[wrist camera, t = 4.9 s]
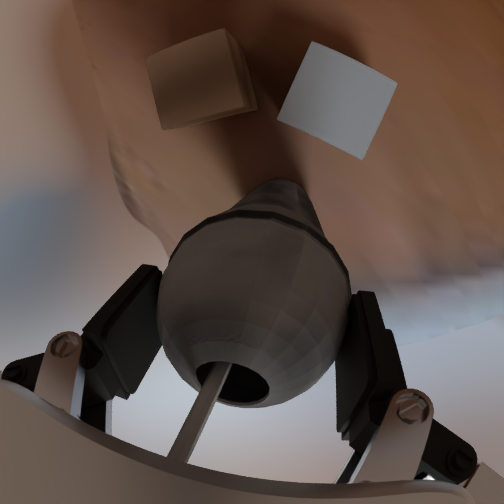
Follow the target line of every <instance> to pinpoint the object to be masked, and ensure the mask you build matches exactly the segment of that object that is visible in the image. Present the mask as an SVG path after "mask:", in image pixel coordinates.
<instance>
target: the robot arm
mask: <svg viewBox="0 0 504 504" xmlns="http://www.w3.org/2000/svg"><path fill="white" fill-rule="evenodd" d="M162 276H163V274H162V271H160V270H159V269H158V267H157V266H153V265H146V264H142V265H141V266H140V267H139V268H138V269H137V270H136V271H135V272H134V273H133V274H132V275H131V276H130V277H129V279H127V281H126V282H125V283H124V284H123V285H122V286H121V287H120V288H119V289H118V290H117V291H116V292H115V293H114V294H113V295H112V296H111V298H110V299H109V300H108V301H107V302H106V303H105V304H104V305H103V306H102V307H101V309H100V310H99V311H98V312H97V313H96V314H95V315H94V316H93V317H92V319H91V320H90V321H89V322H88V323H87V324H86V326H85V327H84V328H83V329H82V330H83V334H82V335H81V336H79V334H77V333H75V332H71V331H67V332H62V333H60V334H57V335H56V336H54V337H53V338H52V339H51V340H50V341H49V343H48V345H47V348H46V351H45V353H41V354H38V355H34V356H31V357H27V358H23V359H20V360H16V361H14V362H11V363H10V364H8V365H7V366H6V367H5V369H4V371H3V372H2V371H0V504H504V478H503V477H501V476H500V475H499V474H497V473H496V472H495V471H494V470H492V469H491V468H490V467H488V466H487V465H486V464H485V463H483V462H481V463H477V455H476V452H475V450H474V448H473V447H472V446H471V445H470V444H468V443H467V442H466V441H464V440H463V439H461V438H460V437H458V436H457V435H455V434H454V433H453V432H451V431H450V430H448V429H447V428H446V427H444V426H443V425H441V424H440V423H439V422H437V421H436V420H434V419H433V414H434V408H433V404H432V402H431V400H430V398H429V397H428V396H427V395H426V394H425V393H423V392H421V391H419V390H416V389H407V386H406V381H405V377H404V373H403V369H402V365H401V361H400V358H399V354H398V350H397V346H396V343H395V339H394V336H393V333H392V331H391V330H390V329H385V326H384V322H383V319H382V315H381V312H380V309H379V305H378V302H377V299H376V296H375V293H374V292H370V291H358V292H357V294H352V296H351V300H350V303H349V320H348V326H347V329H346V333H345V336H344V340H343V343H342V347H341V349H340V351H339V354H338V356H337V358H336V360H335V369H336V400H337V401H336V403H337V404H336V407H337V432H342V440H349V442H350V443H349V446H351V447H352V448H353V451H352V453H351V455H350V456H349V458H348V460H347V462H346V463H345V465H344V467H343V469H342V470H341V472H340V474H339V475H338V477H337V479H336V480H335V482H334V483H333V484H324V483H323V484H322V483H321V484H320V483H318V484H317V483H297V482H284V481H274V480H266V479H258V478H252V477H245V476H239V475H234V474H229V473H224V472H219V471H215V470H210V469H206V468H202V467H198V466H195V465H191V464H187V463H184V462H180V461H177V460H174V459H171V458H168V457H164V456H162V455H159V454H156V453H153V452H150V451H147V450H145V449H142V448H140V447H137V446H134V445H132V444H130V443H127V442H124V441H122V440H120V439H118V438H116V437H113V436H112V435H111V425H112V424H111V422H112V421H111V420H112V399H113V398H114V396H115V395H116V396H118V397H121V398H123V399H126V400H127V399H128V398H129V396H130V394H133V393H135V392H136V390H137V388H138V386H139V385H140V383H141V381H142V379H143V377H144V376H145V374H146V372H147V370H148V369H149V367H150V365H151V363H152V362H153V360H154V358H155V356H156V355H157V353H158V351H159V349H160V348H161V346H162V342H161V339H160V335H159V332H158V328H157V321H156V310H157V302H158V295H159V287H160V281H161V279H162Z"/></svg>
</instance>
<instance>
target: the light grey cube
mask: <svg viewBox="0 0 504 504" xmlns="http://www.w3.org/2000/svg"><path fill="white" fill-rule="evenodd" d="M397 84H398V83H396V82H394V81H393V80H391V79H389V78H388V77H386V76H384V75H382V74H381V73H379V72H377V71H375V70H373V69H372V68H370V67H368V66H366V65H364V64H362V63H360V62H358V61H356V60H354V59H352V58H350V57H348V56H346V55H344V54H341V53H339V52H337V51H335V50H332V49H330V48H328V47H325V46H323V45H321V44H318V43H316V42H313V41H312V42H311V44H310V46H309V48H308V50H307V53H306V55H305V57H304V59H303V61H302V64H301V66H300V68H299V70H298V72H297V75H296V77H295V79H294V81H293V83H292V86H291V88H290V90H289V92H288V95H287V97H286V99H285V102H284V104H283V106H282V108H281V111H280V113H279V115H278V118H277V120H278V121H281V122H283V123H285V124H288V125H290V126H293V127H295V128H297V129H299V130H302V131H304V132H306V133H308V134H311V135H313V136H315V137H317V138H319V139H321V140H323V141H325V142H327V143H329V144H332V145H334V146H336V147H338V148H340V149H341V150H343V151H345V152H347V153H349V154H351V155H353V156H355V157H357V158H359V159H360V160H363V158H364V156H365V154H366V152H367V150H368V148H369V145H370V143H371V141H372V139H373V137H374V135H375V133H376V131H377V129H378V126H379V124H380V122H381V120H382V118H383V116H384V113H385V111H386V109H387V107H388V105H389V102H390V100H391V98H392V96H393V93H394V91H395V89H396V86H397Z"/></svg>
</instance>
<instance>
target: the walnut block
mask: <svg viewBox="0 0 504 504" xmlns="http://www.w3.org/2000/svg"><path fill="white" fill-rule="evenodd" d="M145 59H146V63H147V68H148V73H149V77H150V82H151V86H152V91H153V95H154V99H155V103H156V107H157V112H158V116H159V120H160V124H161V128H162V130H168V129H175V128H183V127H192V126H196V125H199V124H203V123H206V122H210V121H213V120H217V119H221V118H224V117H228V116H232V115H236V114H241V113H245V112H249V111H254V110H258V106H257V102H256V98H255V94H254V90H253V86H252V82H251V78H250V74H249V70H248V66H247V62H246V58H245V54H244V50H243V47H242V46H241V45H240V44H239V43H238V42H237V41H236V40H235V39H234V38H233V37H232V36H231V35H230V34H229V33H228V32H227V31H226V29H225V28H221V29H218V30H215V31H212V32H209V33H205V34H203V35H200V36H197V37H194V38H191V39H188V40H186V41H183V42H181V43H178V44H176V45H173V46H171V47H168V48H166V49H164V50H161V51H159V52H157V53H154V54H152V55H150V56H148V57H146V58H145Z"/></svg>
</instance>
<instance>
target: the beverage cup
mask: <svg viewBox="0 0 504 504" xmlns="http://www.w3.org/2000/svg"><path fill="white" fill-rule="evenodd" d="M351 296H352V293H351V286H350V280H349V273H348V270H347V268H346V267H345V265H344V263H343V261H342V260H341V258H340V256H339V255H338V253H337V251H336V250H335V248H334V246H333V245H332V244H331V243H329V242H328V240H327V239H326V237H325V236H324V233H323V230H322V228H321V225H320V222H319V220H318V217H317V215H316V212H315V209H314V207H313V204H312V202H311V200H310V199H309V197H308V195H307V194H306V192H305V191H304V189H303V188H302V187H300V186H299V185H298V184H297V183H295V182H292V181H290V180H287V179H273V180H269V181H267V182H265V183H263V184H261V185H260V186H258V187H257V188H255V189H254V190H253V191H251V192H250V193H249V194H248V195H246V196H245V197H244V198H243V199H241V200H240V201H239V202H238V203H237V204H235V205H234V206H233V207H232V208H230V209H229V210H227V211H224V212H222V213H220V214H218V215H216V216H212V217H209V218H206V219H205V220H204V221H202V222H201V223H199V224H198V225H197V226H195V227H194V228H192V229H191V230H190V231H188V232H187V233H185V234H184V236H183V237H182V239H181V240H180V242H179V243H178V245H177V247H176V248H175V250H174V251H173V253H172V255H171V256H170V259H169V263H168V266H167V268H166V270H165V271H164V273H163V276H162V279H161V281H160V287H159V295H158V302H157V310H156V321H157V328H158V332H159V335H160V339H161V342H162V345H163V349H164V351H165V354H166V356H167V358H168V359H169V360H170V362H171V364H172V365H173V366H174V368H175V369H176V371H177V372H178V374H179V375H180V376H181V378H182V379H183V380H184V381H186V382H187V383H188V384H189V385H190V386H191V387H193V388H194V389H195V390H196V391H198V392H199V395H198V396H197V398H196V400H195V402H194V404H193V406H192V408H191V410H190V412H189V414H188V417H187V418H186V420H185V422H184V424H183V426H182V428H181V430H180V432H179V434H178V436H177V438H176V440H175V442H174V444H173V446H172V448H171V450H170V452H169V454H168V456H167V457H168V458H171V459H174V460H177V461H180V462H184V463H187V462H188V459H189V458H190V456H191V454H192V452H193V450H194V447H195V445H196V443H197V441H198V439H199V437H200V435H201V432H202V430H203V428H204V426H205V424H206V422H207V420H208V417H209V415H210V413H211V411H212V409H213V406H214V404H215V402H219V403H222V404H225V405H228V406H234V407H240V408H260V407H268V406H272V405H277V404H281V403H284V402H286V401H288V400H290V399H292V398H294V397H296V396H298V395H300V394H302V393H303V392H305V391H307V390H308V389H309V388H311V387H312V386H313V385H314V384H316V383H317V382H318V380H319V379H320V378H321V377H322V376H323V374H324V373H325V372H326V371H327V370H328V369H329V367H330V366H331V365H332V364H333V362H334V361H335V360H336V358H337V356H338V354H339V351H340V349H341V347H342V343H343V340H344V336H345V333H346V329H347V326H348V320H349V303H350V300H351Z"/></svg>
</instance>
